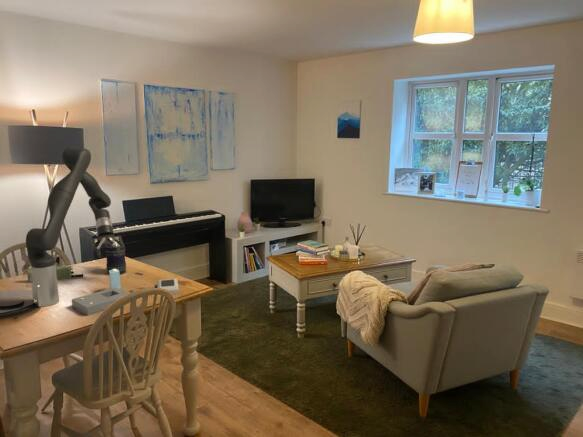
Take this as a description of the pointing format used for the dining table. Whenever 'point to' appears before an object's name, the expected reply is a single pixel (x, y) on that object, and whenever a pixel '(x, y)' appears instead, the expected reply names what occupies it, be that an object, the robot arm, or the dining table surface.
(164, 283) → the keypad
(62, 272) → the handheld radio
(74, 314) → the dining table surface
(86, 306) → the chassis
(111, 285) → the pale blue tall block
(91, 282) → the dining table surface
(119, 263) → the storage jar
